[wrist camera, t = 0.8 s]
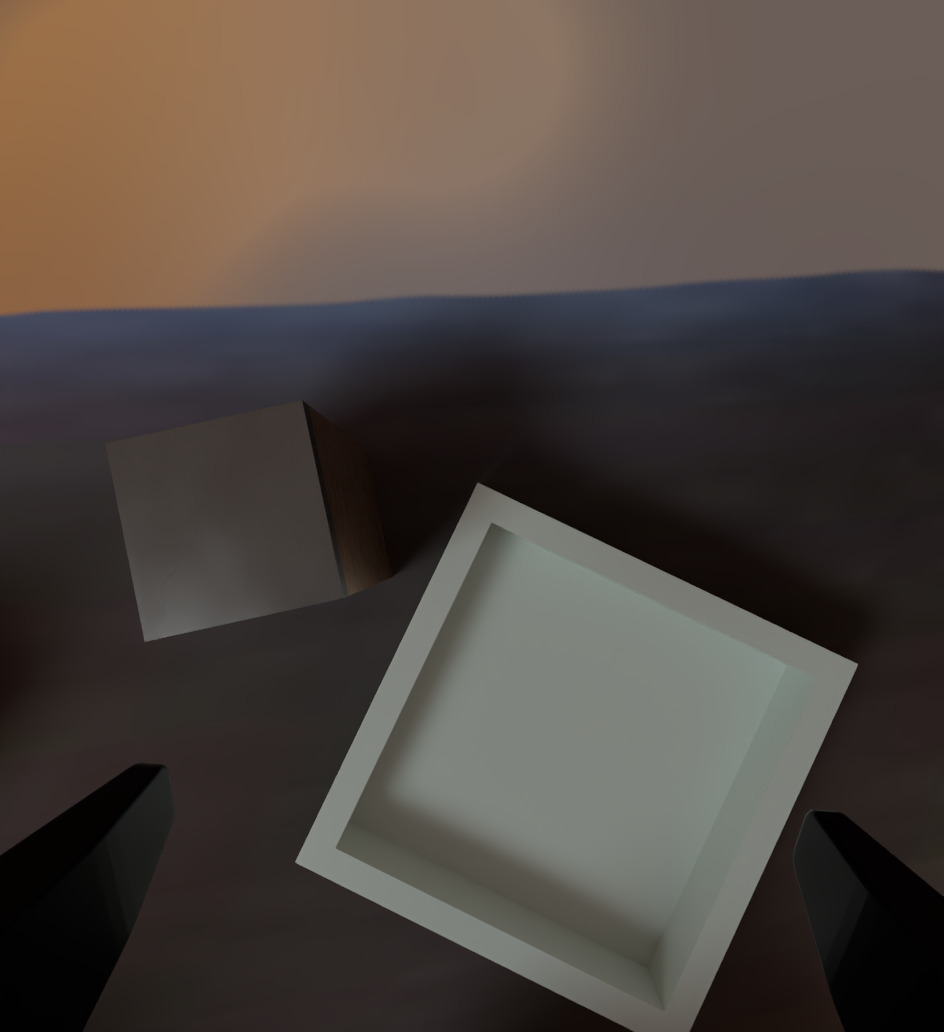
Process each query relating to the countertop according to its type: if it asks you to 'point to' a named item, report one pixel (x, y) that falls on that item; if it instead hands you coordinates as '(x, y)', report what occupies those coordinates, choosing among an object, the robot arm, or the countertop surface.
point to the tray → (577, 765)
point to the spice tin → (245, 518)
